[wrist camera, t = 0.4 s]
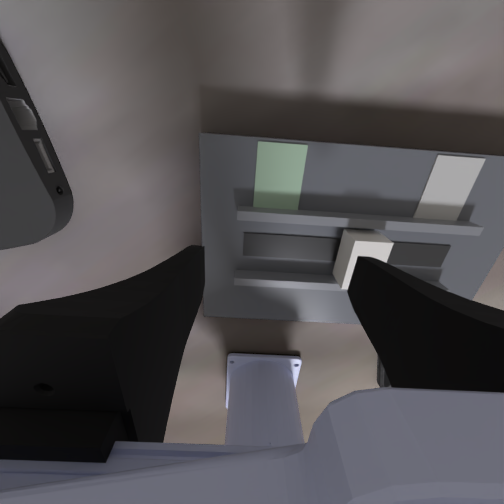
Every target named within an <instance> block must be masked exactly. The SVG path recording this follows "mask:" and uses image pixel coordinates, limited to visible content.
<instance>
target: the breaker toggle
mask: <svg viewBox="0 0 504 504" xmlns="http://www.w3.org/2000/svg"><path fill="white" fill-rule="evenodd" d="M393 244H394V243H393V242H392V241H390V240H389V239H388V238H387V237H385V236H384V235H383V234H382V233H380V232H379V231H371V230H356V229H344V231H343V234H342V238H341V242H340V246H339V250H338V254H337V258H336V261H335V265H334V269H333V273H332V274H333V275H334V277H335V279H336V281H337V283H338V284H339V286H340V288H341V289H348V287H349V284H350V280H351V277H352V274H353V270H354V267H355V264H356V260H357V257H358V256H367V257H373V258H376V259H379V260H381V261H383V262H386V263H387V260H388V257H389V255H390V252H391V249H392V246H393Z"/></svg>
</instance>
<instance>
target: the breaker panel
mask: <svg viewBox="0 0 504 504" xmlns="http://www.w3.org/2000/svg"><path fill="white" fill-rule="evenodd" d="M199 157H200V194H201V231H202V246H205V287H204V292H203V304H204V316H209V317H229V318H248V319H268V320H287V321H307V322H326V323H346V324H361V323H360V321H359V319H358V317H357V315H356V314H355V312H354V310H353V307H352V305H351V302H350V299H349V296H348V293H347V290H348V289H341V288H340V286H339V284H338V283H337V281H336V279H335V277H334V275H333V274H332V273H333V269H334V265H335V261H336V258H337V254H338V250H339V246H340V242H341V238H342V234H343V231H344V229H356V230H371V231H379V232H380V233H382V234H383V235H384V236H385V237H387V238H388V239H389V240H390V241H392V242H393V243H394V244H393V246H392V249H391V252H390V255H389V257H388V260H387V263H388V264H390V265H392V266H394V267H396V268H398V269H400V270H402V271H404V272H406V273H408V274H410V275H413V276H415V277H417V278H419V279H421V280H423V281H425V282H428V283H430V284H432V285H434V286H437V287H439V288H441V289H444V290H446V291H448V292H451V293H454V294H456V295H459V296H462V297H464V298H467V299H469V300H472V299H473V298H474V296H475V294H476V293H477V291H478V289H479V288H480V286H481V284H482V283H483V281H484V279H485V278H486V276H487V274H488V273H489V271H490V269H491V268H492V266H493V264H494V263H495V261H496V259H497V258H498V256H499V255H500V253H501V251H502V250H503V248H504V156H503V155H490V154H477V153H464V152H451V151H438V150H425V149H412V148H399V147H386V146H373V145H360V144H347V143H334V142H322V141H309V140H296V139H283V138H270V137H257V136H244V135H231V134H218V133H199Z"/></svg>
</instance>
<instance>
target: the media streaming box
mask: <svg viewBox="0 0 504 504" xmlns="http://www.w3.org/2000/svg"><path fill="white" fill-rule="evenodd" d="M72 212H73V197H72V193H71V191H70V188H69V185H68V183H67V180H66V178H65V175H64V173H63V171H62V168H61V166H60V163H59V161H58V159H57V156H56V154H55V152H54V149H53V147H52V145H51V143H50V140H49V138H48V136H47V134H46V131H45V129H44V127H43V125H42V123H41V121H40V118H39V116H38V114H37V112H36V110H35V108H34V106H33V103H32V101H31V99H30V97H29V95H28V93H27V91H26V89H25V87H24V85H23V83H22V81H21V79H20V77H19V75H18V73H17V71H16V69H15V67H14V65H13V63H12V61H11V59H10V57H9V55H8V53H7V51H6V50H5V48H4V47H3V45H2V44H1V43H0V250H4V249H9V248H15V247H20V246H25V245H30V244H34V243H37V242H39V241H41V240H43V239H45V238H47V237H48V236H50V235H52V234H54V233H56V232H58V231H60V230H61V229H63V228H64V227H65V226H66V225H67V223H68V222H69V220H70V218H71V216H72Z"/></svg>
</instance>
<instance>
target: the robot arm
mask: <svg viewBox="0 0 504 504" xmlns="http://www.w3.org/2000/svg"><path fill="white" fill-rule="evenodd" d="M204 287H205V246H196V245H191V246H189V247H187V248H185V249H184V250H182V251H180V252H179V253H177V254H176V255H174V256H172V257H171V258H169V259H167V260H166V261H164V262H162V263H160V264H158V265H156V266H155V267H153V268H151V269H149V270H147V271H145V272H143V273H140V274H138V275H136V276H133V277H131V278H128V279H126V280H123V281H120V282H117V283H114V284H111V285H108V286H105V287H102V288H99V289H95V290H91V291H87V292H84V293H79V294H75V295H71V296H66V297H62V298H56V299H51V300H45V301H40V302H34V303H28V304H22V305H18V306H16V307H15V308H14V309H12V310H11V311H10V312H8V313H7V314H6V315H4V316H3V317H2V318H0V504H504V311H503V310H500V309H497V308H494V307H490V306H487V305H484V304H481V303H478V302H475V301H472V300H469V299H467V298H464V297H462V296H459V295H456V294H454V293H451V292H448V291H446V290H444V289H441V288H439V287H437V286H434V285H432V284H430V283H428V282H425V281H423V280H421V279H419V278H417V277H415V276H413V275H410V274H408V273H406V272H404V271H402V270H400V269H398V268H396V267H394V266H392V265H390V264H388V263H386V262H383V261H381V260H379V259H376V258H373V257H367V256H358V257H357V260H356V264H355V267H354V270H353V274H352V277H351V280H350V284H349V287H348V290H347V293H348V296H349V299H350V302H351V305H352V307H353V310H354V312H355V314H356V315H357V317H358V319H359V321H360V323H361V325H362V326H363V328H364V330H365V332H366V334H367V335H368V337H369V339H370V341H371V343H372V345H373V346H374V348H375V350H376V352H377V354H378V356H379V358H380V360H381V362H382V365H383V367H384V370H385V372H386V374H387V377H388V379H389V382H390V384H391V387H392V388H388V387H382V388H374V389H366V390H357V391H353V392H351V393H349V394H347V395H345V396H343V397H340V398H338V399H336V400H334V401H332V402H330V403H329V404H328V406H327V407H326V408H325V409H324V411H323V412H322V413H321V414H320V416H319V417H318V418H317V420H316V421H315V422H314V424H313V427H312V430H311V433H310V436H309V439H308V442H307V443H304V437H303V431H302V425H301V420H300V414H299V408H298V402H297V396H296V390H295V388H296V384H297V379H298V375H299V371H300V367H301V363H302V360H301V358H300V357H299V356H283V355H261V354H239V353H230V354H229V355H228V357H227V384H226V408H227V409H228V412H227V424H226V436H225V445H213V444H184V443H163V440H164V436H165V431H166V426H167V421H168V417H169V412H170V407H171V403H172V398H173V394H174V389H175V385H176V381H177V377H178V372H179V368H180V364H181V360H182V356H183V352H184V348H185V345H186V342H187V339H188V336H189V334H190V331H191V328H192V326H193V323H194V320H195V317H196V315H197V312H198V309H199V306H200V304H201V301H202V296H203V292H204Z"/></svg>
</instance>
